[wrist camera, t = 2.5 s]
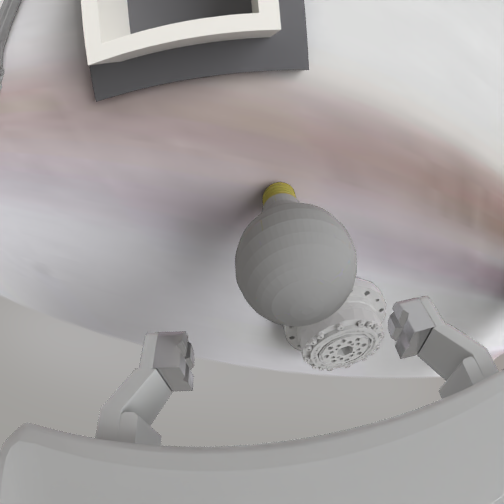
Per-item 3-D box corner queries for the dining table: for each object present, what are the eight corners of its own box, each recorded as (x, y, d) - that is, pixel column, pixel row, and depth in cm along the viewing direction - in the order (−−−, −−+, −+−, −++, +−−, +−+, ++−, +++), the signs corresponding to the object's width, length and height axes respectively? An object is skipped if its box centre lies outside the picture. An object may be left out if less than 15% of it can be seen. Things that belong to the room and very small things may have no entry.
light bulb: (219, 206, 19) (210, 329, 11) (264, 138, 17) (294, 227, 9) (286, 240, 21) (314, 360, 13) (333, 181, 18) (399, 288, 11)
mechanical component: (400, 291, 26) (321, 260, 23) (417, 325, 22) (335, 300, 19) (341, 349, 31) (264, 333, 28) (350, 382, 28) (268, 371, 25)
